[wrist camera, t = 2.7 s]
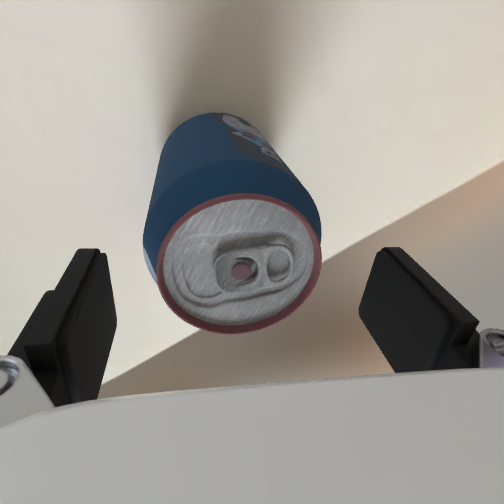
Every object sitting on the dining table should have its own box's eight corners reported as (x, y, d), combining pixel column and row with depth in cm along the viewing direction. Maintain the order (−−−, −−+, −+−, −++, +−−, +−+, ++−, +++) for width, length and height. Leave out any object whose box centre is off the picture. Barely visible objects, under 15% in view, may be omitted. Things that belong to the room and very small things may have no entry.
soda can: (172, 221, 23) (161, 359, 13) (149, 114, 19) (108, 192, 9) (270, 208, 24) (332, 329, 14) (266, 103, 20) (348, 164, 10)
